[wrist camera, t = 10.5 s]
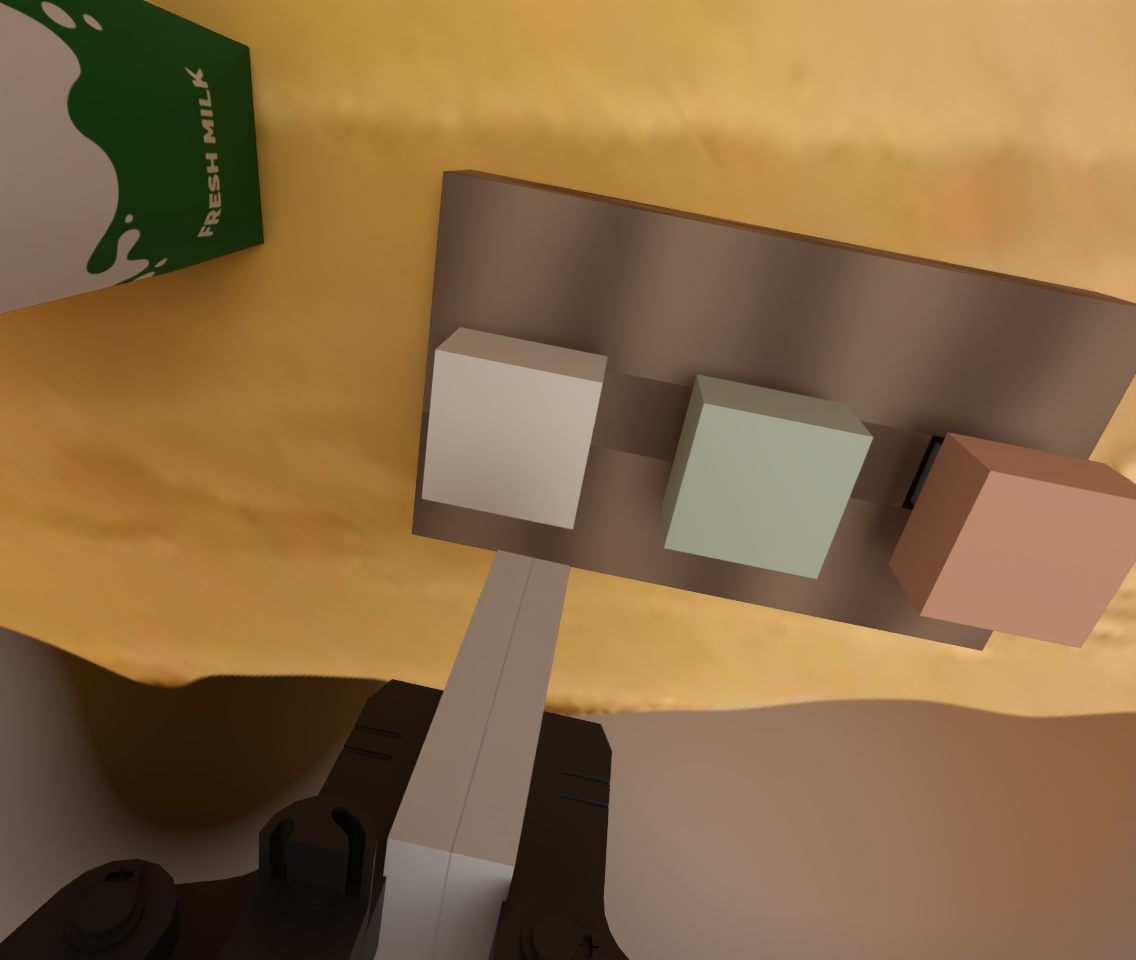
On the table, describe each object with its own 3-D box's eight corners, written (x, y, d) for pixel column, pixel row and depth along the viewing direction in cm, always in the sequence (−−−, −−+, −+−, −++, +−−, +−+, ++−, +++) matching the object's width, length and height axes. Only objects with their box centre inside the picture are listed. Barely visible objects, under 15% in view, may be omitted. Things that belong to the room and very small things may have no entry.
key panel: (437, 492, 32) (411, 534, 29) (470, 169, 26) (443, 171, 23) (943, 595, 32) (982, 650, 28) (1095, 291, 26) (1169, 313, 22)
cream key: (465, 432, 28) (421, 498, 22) (479, 309, 26) (435, 349, 20) (586, 457, 28) (572, 529, 22) (611, 335, 26) (602, 383, 20)
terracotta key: (863, 522, 27) (919, 615, 21) (914, 402, 24) (990, 470, 19) (991, 548, 27) (1080, 648, 21) (1053, 429, 24) (1169, 506, 19)
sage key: (660, 471, 28) (664, 547, 22) (691, 351, 25) (703, 403, 20) (783, 496, 28) (816, 578, 22) (824, 377, 25) (873, 436, 20)
